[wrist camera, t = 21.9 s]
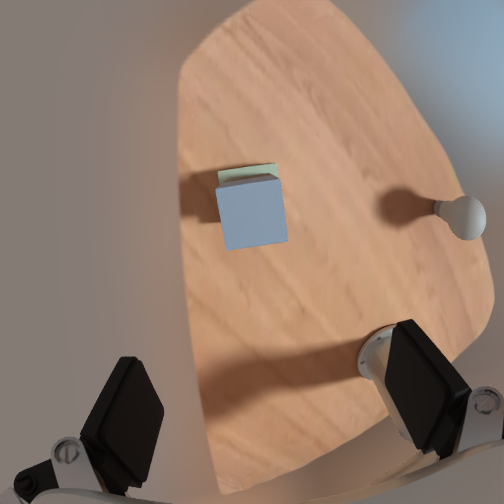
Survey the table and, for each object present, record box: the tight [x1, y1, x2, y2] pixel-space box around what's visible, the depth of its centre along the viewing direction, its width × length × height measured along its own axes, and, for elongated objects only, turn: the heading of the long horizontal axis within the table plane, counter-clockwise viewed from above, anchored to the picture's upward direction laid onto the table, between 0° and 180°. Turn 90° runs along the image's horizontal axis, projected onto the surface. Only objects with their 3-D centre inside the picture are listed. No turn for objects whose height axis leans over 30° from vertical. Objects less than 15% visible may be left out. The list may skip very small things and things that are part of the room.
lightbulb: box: [433, 196, 486, 240], centre depth 33 cm, size 6×6×11 cm
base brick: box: [217, 163, 279, 185], centre depth 35 cm, size 7×7×4 cm
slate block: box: [215, 175, 288, 251], centre depth 25 cm, size 5×5×6 cm
